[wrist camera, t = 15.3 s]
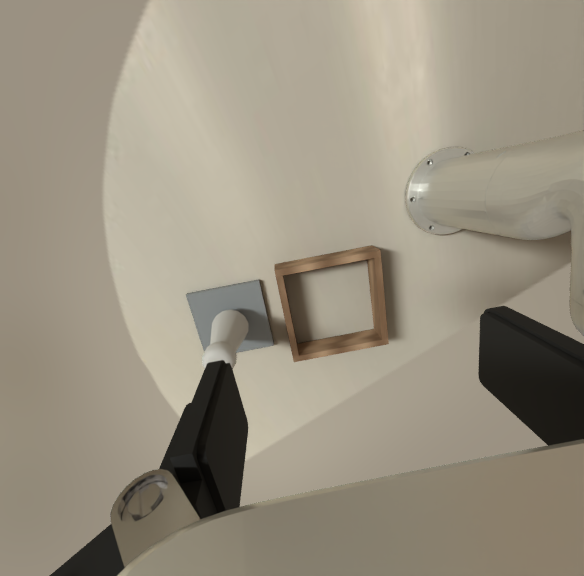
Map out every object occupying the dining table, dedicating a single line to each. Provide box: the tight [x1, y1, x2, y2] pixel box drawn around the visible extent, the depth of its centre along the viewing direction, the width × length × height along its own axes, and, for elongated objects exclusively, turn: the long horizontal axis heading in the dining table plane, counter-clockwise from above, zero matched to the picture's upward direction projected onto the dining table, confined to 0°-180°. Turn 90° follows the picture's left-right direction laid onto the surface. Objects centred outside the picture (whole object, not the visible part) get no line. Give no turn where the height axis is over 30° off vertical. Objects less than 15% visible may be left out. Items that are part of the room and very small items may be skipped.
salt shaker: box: [202, 310, 248, 369], centre depth 42 cm, size 6×6×13 cm
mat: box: [186, 280, 274, 353], centre depth 48 cm, size 12×12×1 cm
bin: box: [275, 246, 389, 362], centre depth 47 cm, size 16×16×4 cm
